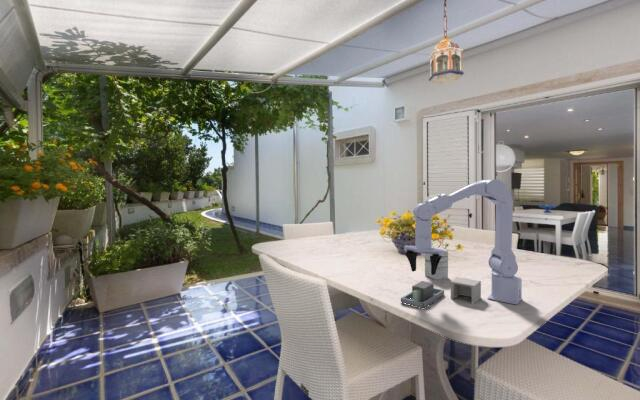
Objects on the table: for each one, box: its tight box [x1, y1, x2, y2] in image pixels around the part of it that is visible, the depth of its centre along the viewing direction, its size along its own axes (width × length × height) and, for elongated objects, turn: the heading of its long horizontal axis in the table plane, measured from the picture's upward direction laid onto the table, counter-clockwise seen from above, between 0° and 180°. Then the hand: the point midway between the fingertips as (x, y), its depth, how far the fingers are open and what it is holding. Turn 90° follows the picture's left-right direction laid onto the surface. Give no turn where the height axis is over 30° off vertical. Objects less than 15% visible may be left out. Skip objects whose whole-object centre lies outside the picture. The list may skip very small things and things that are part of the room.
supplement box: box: [424, 247, 449, 280], centre depth 150 cm, size 7×7×13 cm
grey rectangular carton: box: [411, 280, 435, 302], centre depth 122 cm, size 10×5×5 cm, turn 138°
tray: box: [400, 287, 445, 309], centre depth 123 cm, size 9×18×2 cm, turn 137°
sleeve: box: [450, 276, 482, 304], centre depth 123 cm, size 7×8×6 cm
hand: (423, 272), depth 122 cm, fingers open, 7 cm apart
